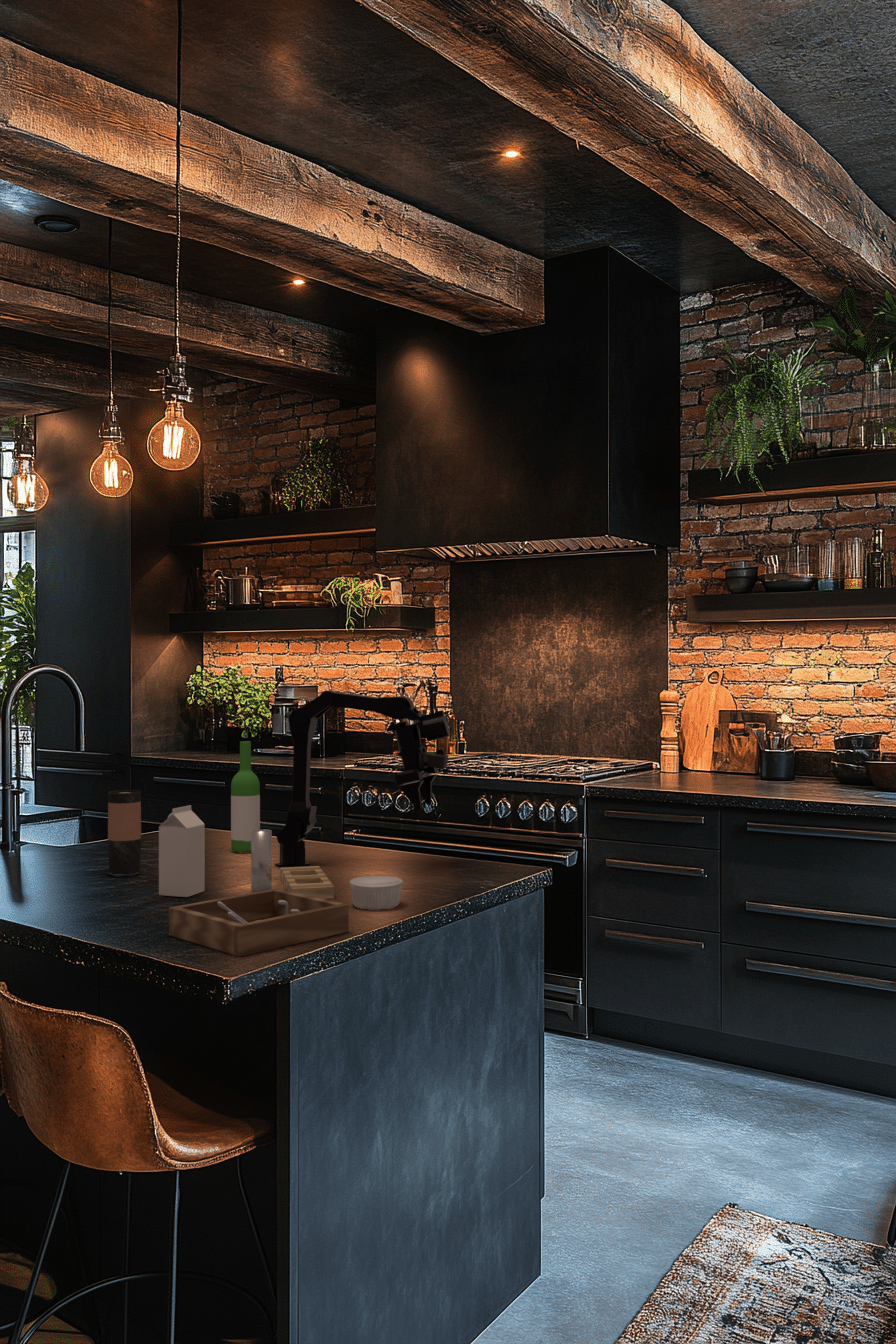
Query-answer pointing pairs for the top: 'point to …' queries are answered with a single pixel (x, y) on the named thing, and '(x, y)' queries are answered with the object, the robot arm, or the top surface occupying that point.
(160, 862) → the milk carton
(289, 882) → the wooden slotted holder
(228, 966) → the top surface
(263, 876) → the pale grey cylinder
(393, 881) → the ramekin
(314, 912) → the tray
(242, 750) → the wine bottle
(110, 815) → the travel mug
